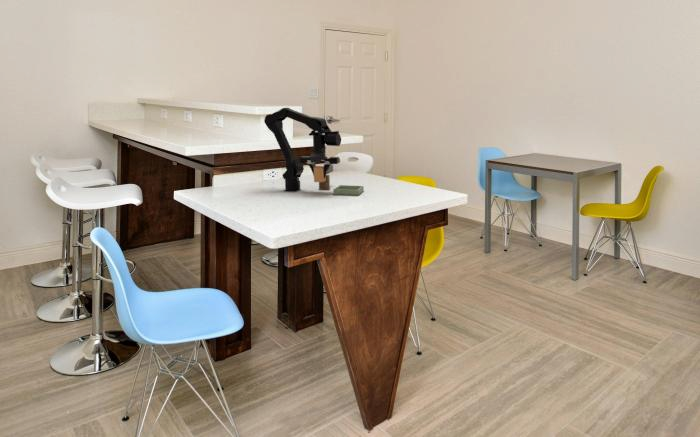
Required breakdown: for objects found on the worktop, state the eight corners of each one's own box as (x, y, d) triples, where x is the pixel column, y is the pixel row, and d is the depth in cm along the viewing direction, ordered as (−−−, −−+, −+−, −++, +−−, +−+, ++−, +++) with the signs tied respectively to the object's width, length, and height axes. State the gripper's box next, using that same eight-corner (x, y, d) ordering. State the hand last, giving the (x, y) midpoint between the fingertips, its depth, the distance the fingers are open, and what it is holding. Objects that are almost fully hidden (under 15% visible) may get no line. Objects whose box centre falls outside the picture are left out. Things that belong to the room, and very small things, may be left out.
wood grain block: (319, 189, 263) (318, 175, 261) (319, 189, 264) (319, 174, 263) (328, 190, 262) (328, 175, 260) (329, 189, 263) (329, 175, 262)
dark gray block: (322, 173, 263) (321, 167, 262) (327, 170, 273) (327, 165, 272) (327, 173, 262) (327, 167, 262) (333, 171, 272) (332, 165, 271)
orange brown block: (314, 181, 253) (313, 167, 251) (317, 180, 257) (316, 165, 256) (322, 182, 252) (322, 167, 250) (325, 180, 256) (325, 166, 255)
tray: (333, 194, 249) (333, 189, 249) (339, 190, 261) (339, 185, 260) (358, 195, 247) (358, 190, 246) (363, 191, 258) (363, 186, 257)
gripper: (294, 146, 245) (295, 180, 248) (334, 147, 241) (334, 181, 244) (302, 144, 255) (303, 176, 259) (340, 145, 251) (340, 177, 255)
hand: (319, 178), depth 254 cm, fingers closed on orange brown block, 4 cm apart
